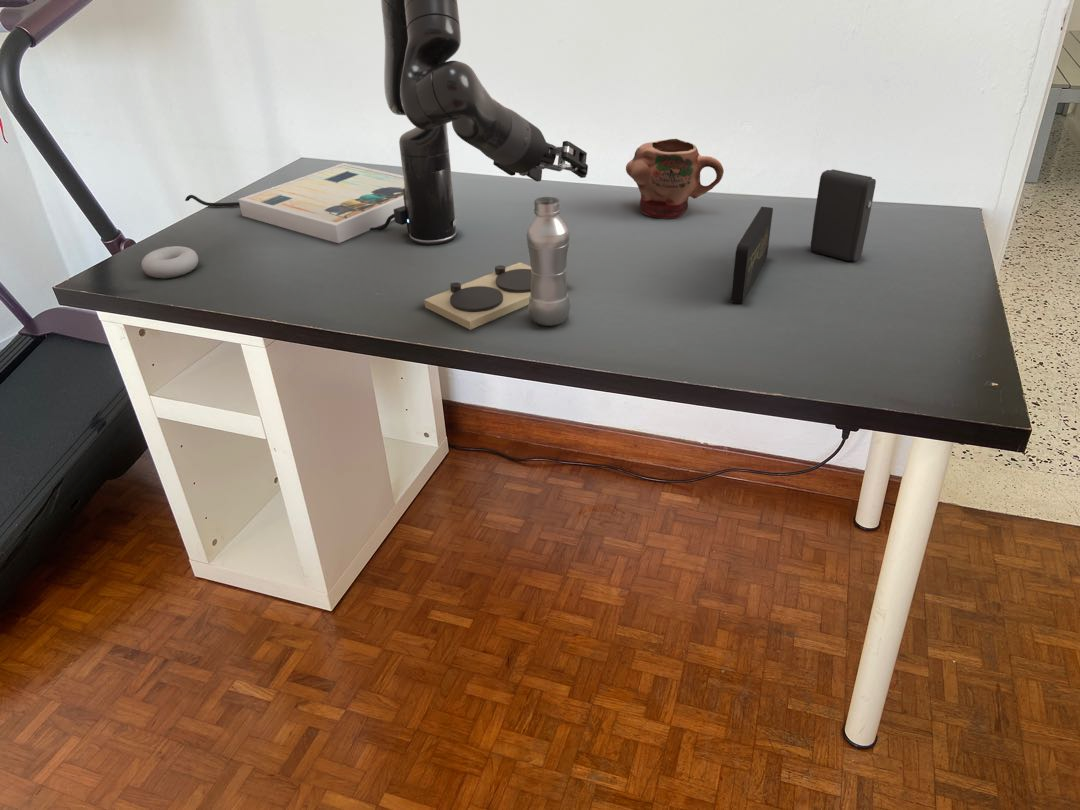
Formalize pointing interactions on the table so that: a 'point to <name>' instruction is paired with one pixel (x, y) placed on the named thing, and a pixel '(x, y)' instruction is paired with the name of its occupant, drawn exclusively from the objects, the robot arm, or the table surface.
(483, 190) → the table surface
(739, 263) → the nameplate
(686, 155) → the animal head mug
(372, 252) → the table surface
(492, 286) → the hob
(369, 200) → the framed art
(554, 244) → the silver bottle
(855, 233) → the dark grey upright block
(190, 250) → the donut
